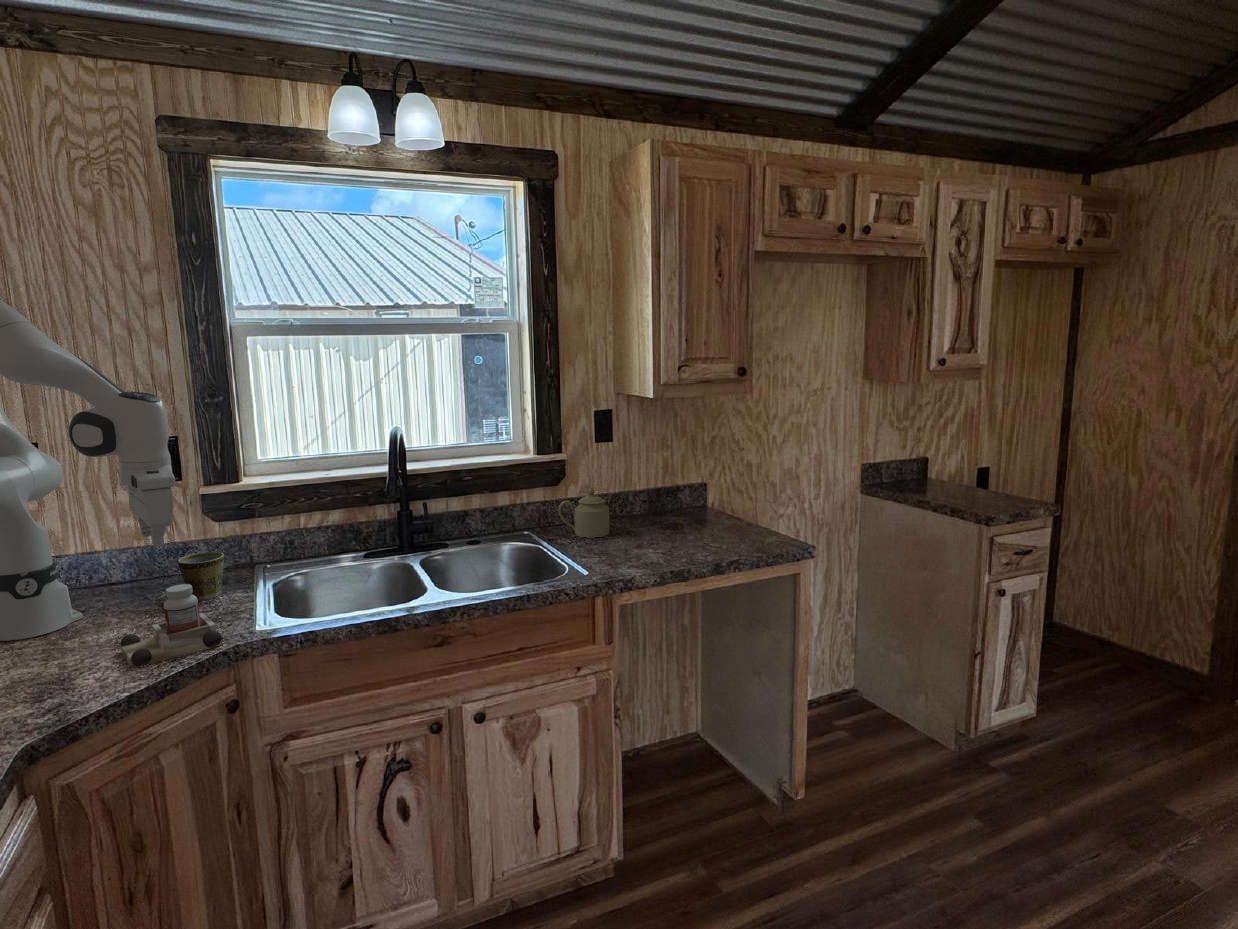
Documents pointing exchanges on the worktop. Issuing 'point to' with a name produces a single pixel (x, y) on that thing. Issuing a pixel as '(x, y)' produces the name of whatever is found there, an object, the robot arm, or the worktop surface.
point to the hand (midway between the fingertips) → (152, 540)
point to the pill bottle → (181, 609)
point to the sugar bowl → (589, 516)
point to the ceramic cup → (203, 573)
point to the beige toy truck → (169, 643)
